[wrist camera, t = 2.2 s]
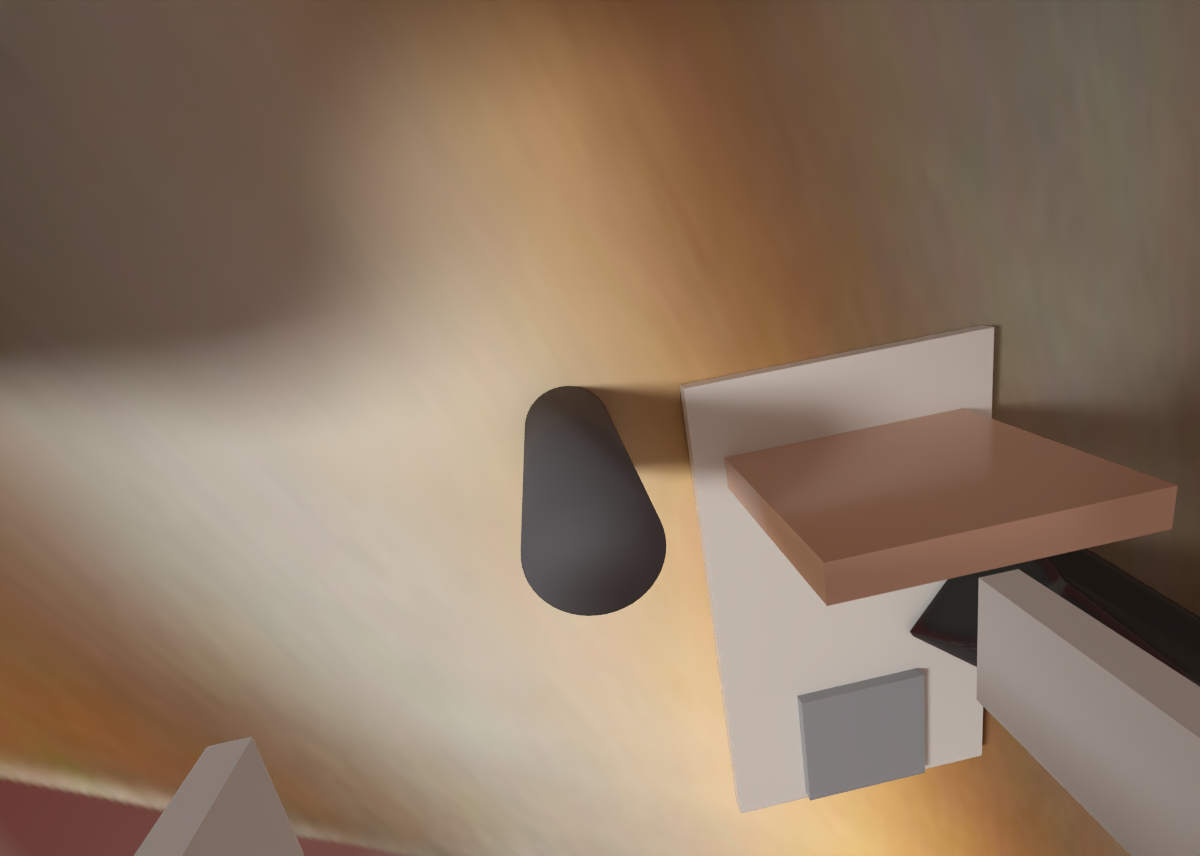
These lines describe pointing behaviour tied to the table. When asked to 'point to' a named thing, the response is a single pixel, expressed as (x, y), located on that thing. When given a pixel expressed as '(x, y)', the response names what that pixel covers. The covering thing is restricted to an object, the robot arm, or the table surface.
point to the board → (793, 609)
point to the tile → (937, 502)
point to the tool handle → (584, 509)
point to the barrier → (1087, 585)
